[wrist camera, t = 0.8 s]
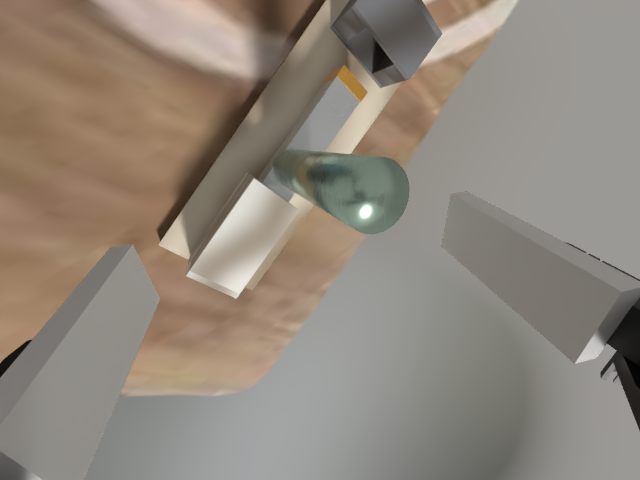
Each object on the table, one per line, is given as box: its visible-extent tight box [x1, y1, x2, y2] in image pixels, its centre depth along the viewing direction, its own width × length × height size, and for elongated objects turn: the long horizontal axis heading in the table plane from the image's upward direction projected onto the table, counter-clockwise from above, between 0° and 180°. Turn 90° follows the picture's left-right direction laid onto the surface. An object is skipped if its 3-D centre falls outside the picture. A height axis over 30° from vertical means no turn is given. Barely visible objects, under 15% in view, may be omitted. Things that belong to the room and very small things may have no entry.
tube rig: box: [159, 0, 442, 298], centre depth 25 cm, size 10×30×6 cm, turn 140°
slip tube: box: [257, 65, 409, 234], centre depth 18 cm, size 3×20×16 cm, turn 140°
